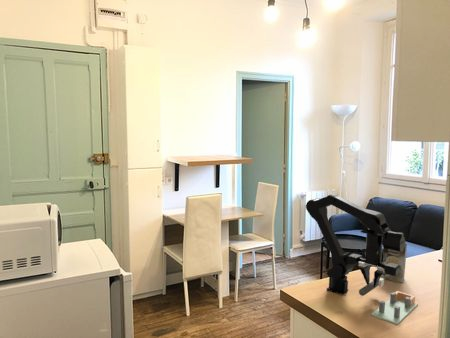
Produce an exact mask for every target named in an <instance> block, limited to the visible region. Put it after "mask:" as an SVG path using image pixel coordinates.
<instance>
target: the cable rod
mask: <svg viewBox="0 0 450 338" xmlns="http://www.w3.org/2000/svg"><path fill="white" fill-rule="evenodd" d="M384 283H385V279H384V278H381V277H380V279H379V282H378V284H377V286H376V287H374V277H373V278H372V281H371V282H369V284H368V285H367V284H366V285H364V286H363V287H361V288H360V289H359V290H358V294H359V295H360V296H362V297H363V296H365V295H366V294H369V293H370V292H372V291H374V289H376V288H377V287H382V286H384Z"/></svg>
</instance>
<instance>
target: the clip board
mask: <svg viewBox="0 0 450 338" xmlns="http://www.w3.org/2000/svg"><path fill="white" fill-rule="evenodd" d="M389 295H390V298H389V299H388V300H387V301H383V300H381V301H379V302H378V303H379V304H378V308H377V309H375V310H373V312H372V313H370V315H371V316H372V317H375V318H377V319H381V320H383V321H386V322H388V323H392V324H395V325H399V324H400V323H401V322H402V321H403V320H404V319H406V317H408V315H409V314H410V313H411V312H413V310H414V309H416V308H417V306H418V305H419V304H418V302H416V296H415V295H412V294H409V293H405V292H403V291H402V292H401V291H399V290H396V291H394V292H390V294H389Z"/></svg>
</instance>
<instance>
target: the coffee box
mask: <svg viewBox="0 0 450 338" xmlns="http://www.w3.org/2000/svg"><path fill="white" fill-rule="evenodd" d="M407 245H408V244H407V243H405V248H404V250H403V252H398V251H393V250H389V249H385V247H383V246H382V248H383V252H384V253H387V260H386V261H384V262H381V263H382V264H386V265H387V264H388V263H394V264H398V265H400V267H401V272H400V273H399V274H397V275H396V276H393V275H389V274H386V273H384V274H383V275H382V276H381V277H380V278H383V279H384V280H389V281H393V282H398V283H403V282H404V280H405V273H406V262H407V261H406V260H407V248H408V246H407Z"/></svg>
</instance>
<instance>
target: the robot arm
mask: <svg viewBox="0 0 450 338" xmlns="http://www.w3.org/2000/svg"><path fill="white" fill-rule="evenodd" d="M330 206H333V207H335V208H337V209H338V210H340V211H343V212H344V213H346V214H349V215H350V216H352V217H354V218H356V219H357V220H359V222H360V223H361V224H362V225H364V226H365V227H364V228H363V229H362V230H361V231H360V233H362V234H365V239H366V240H365V248H364V249H363V251H364V254H365V257H364V258H363V256H362V254H357V253H350V252H349V251H348V252H345V250H344V249H343V248H342V246H341V244H340V242H339V240H338V237H337V235H336V233H335V231H334V228H333V226H332V224H331V222H330V220H329V217H328V208H327V207H330ZM305 209H306V211H307V212H308V214H309V216H310V217H311V218H312V219H313V220H314V221H315V222H316V224H317V225H318V228H319V230H320V232H321V235H322V238H323V239H324V242H325V244H326V245H327V247H328V250H329V252H330V256H331V257H330V258H331V259H330V260H331V268H330V269H328V270H326V273H327V277H328V286H327V287H326V290H328V291H330V292H333V293H335V294H339V295H342V294H345V293H346V292H347V291H348V290H349V288H348V287H349V280H348V276H347V275H349V273H350V272H351V271H353V269H354V266H355V265H356V264H357V263H358V265H357V269H359V270H360V273H361V274H362V276H363V278H364V281H365V284H366V285H368V284H369V283H371V282H370V279H371V278H370V274H371V273H370V269H371V267H374V268H376V270H375V271H373V272H374V273H373V274H374V275H373V278H374V287H376V286H377V284H378V282H379V279H380V278H381V276H382V275H383V274H384V273H386V274H389V275H393V276H396V275H397V274H399V273H400V272H401V267H400V265H398V264H394V263H388V264H387V265H386V264H382V262H384V261H386V260H387V253H384V252H383V247H385V249H389V250H393V251H398V252H403V250H404V248H405V244H406V239H405V234H404V233H403V232H396V231H392V229H391V228H390V225H389V224H388V223H387V220H386V217H385V214H384V213H382V212H379V211H376V210H372V209H367V208H363V207H361V206H359V205H358V204H355V203H353V202H351V201H349V200H347V199H345V198H343V197H341V196H339V195H338V194H336V193H331V194H328V195H327V196H323V197H322V198H313V199H309V200H308V201H307V202H306V204H305ZM377 287H378V286H377ZM377 287H376V288H377Z"/></svg>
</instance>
